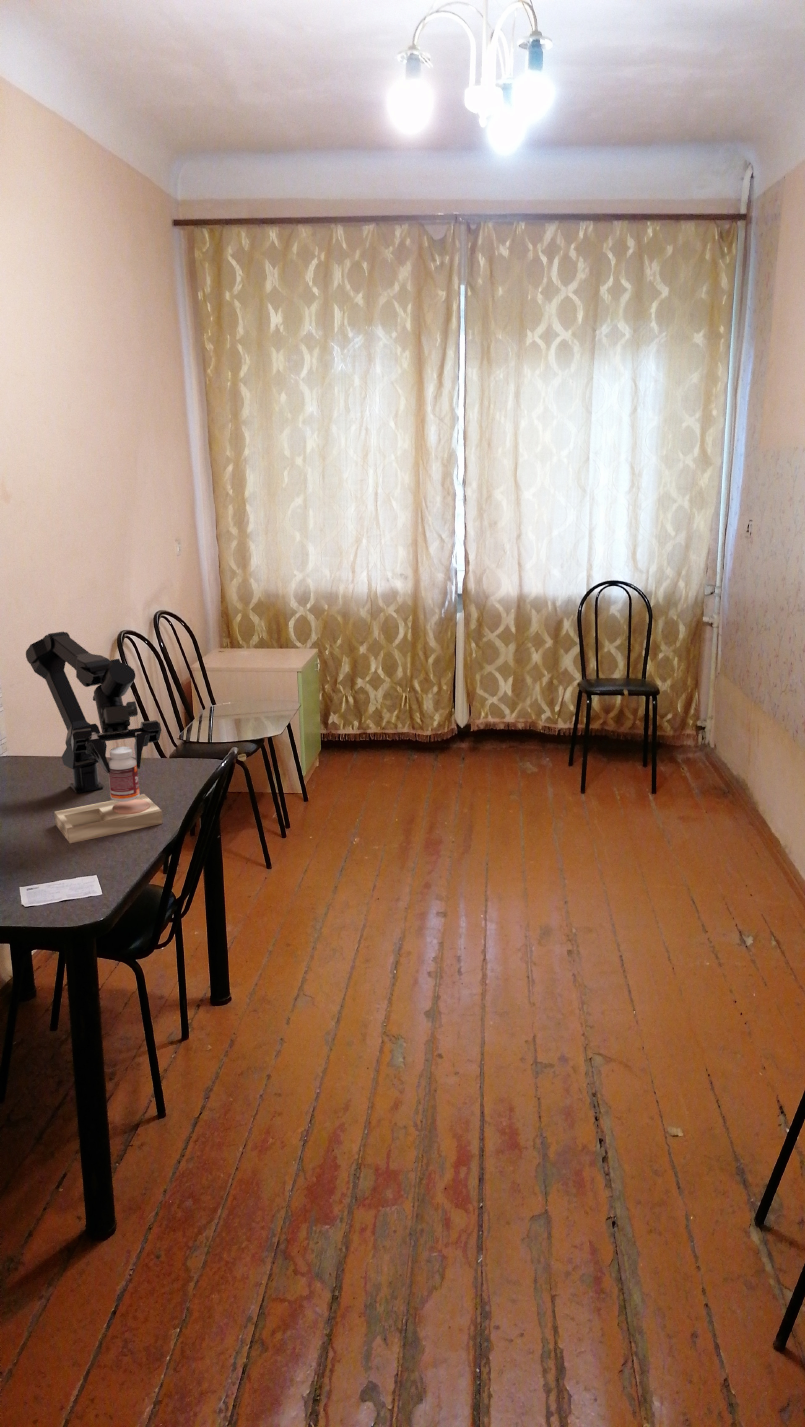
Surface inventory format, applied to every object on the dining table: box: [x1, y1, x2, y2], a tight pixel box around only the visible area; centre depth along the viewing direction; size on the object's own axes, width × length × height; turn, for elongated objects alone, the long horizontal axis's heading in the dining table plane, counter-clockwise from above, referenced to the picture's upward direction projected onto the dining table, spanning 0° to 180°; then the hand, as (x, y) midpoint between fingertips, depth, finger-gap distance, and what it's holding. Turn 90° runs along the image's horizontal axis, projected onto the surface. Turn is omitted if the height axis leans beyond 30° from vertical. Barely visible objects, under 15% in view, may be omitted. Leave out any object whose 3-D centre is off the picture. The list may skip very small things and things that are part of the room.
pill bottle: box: [107, 746, 140, 802], centre depth 209 cm, size 6×6×11 cm
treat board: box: [53, 793, 164, 844], centre depth 210 cm, size 12×20×3 cm, turn 123°
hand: (123, 770), depth 207 cm, fingers closed on pill bottle, 6 cm apart
